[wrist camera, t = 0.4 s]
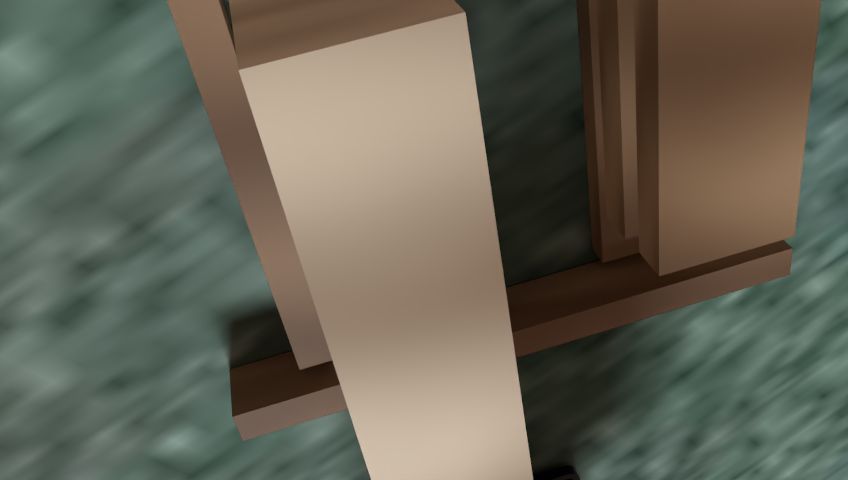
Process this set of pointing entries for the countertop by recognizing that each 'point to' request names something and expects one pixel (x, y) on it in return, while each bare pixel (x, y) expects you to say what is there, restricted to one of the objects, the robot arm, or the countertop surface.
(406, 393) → the maple panel
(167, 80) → the countertop surface
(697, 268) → the rack
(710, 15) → the offcut stack
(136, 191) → the countertop surface
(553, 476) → the robot arm
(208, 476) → the countertop surface
